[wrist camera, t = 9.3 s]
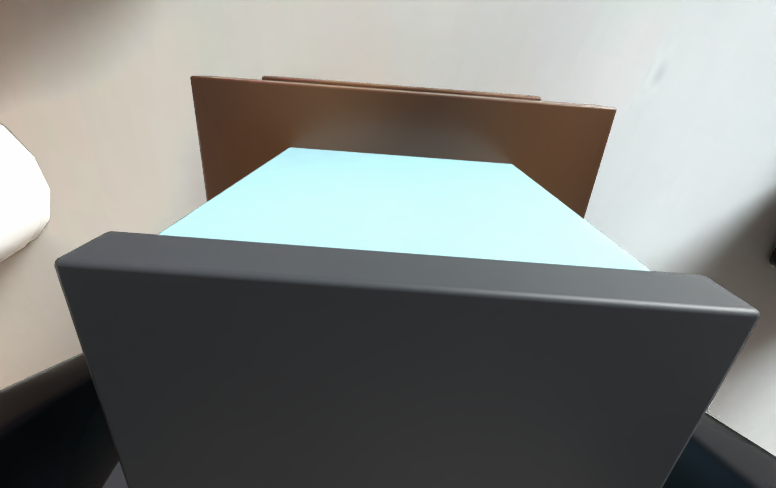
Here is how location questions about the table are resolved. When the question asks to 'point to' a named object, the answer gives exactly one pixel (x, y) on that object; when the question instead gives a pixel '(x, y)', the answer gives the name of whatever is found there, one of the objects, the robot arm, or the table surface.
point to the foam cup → (20, 196)
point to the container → (394, 335)
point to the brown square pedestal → (397, 128)
